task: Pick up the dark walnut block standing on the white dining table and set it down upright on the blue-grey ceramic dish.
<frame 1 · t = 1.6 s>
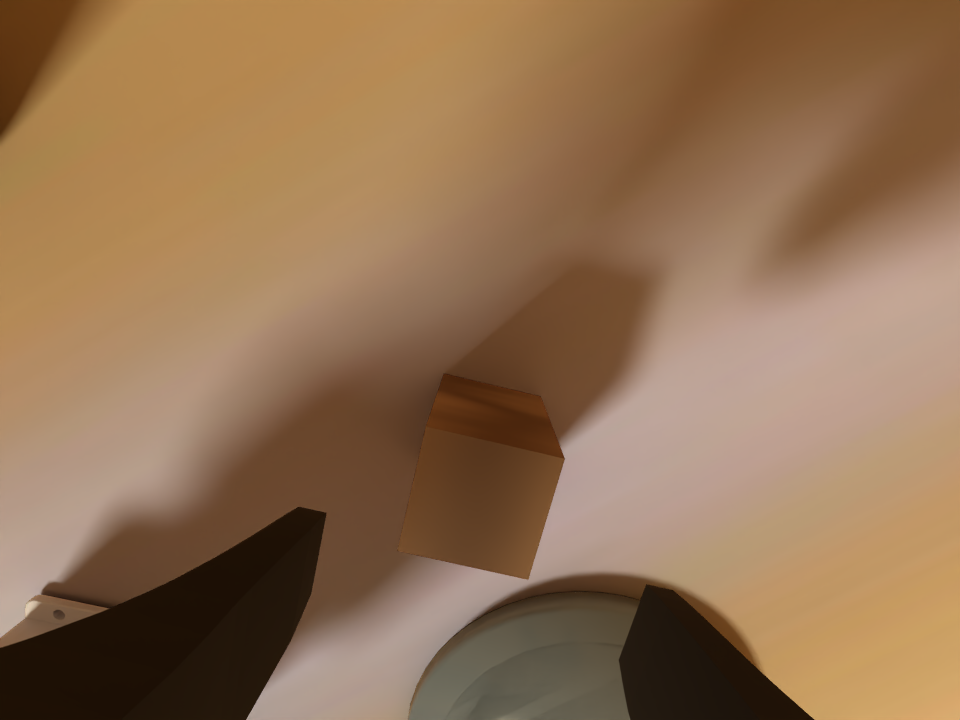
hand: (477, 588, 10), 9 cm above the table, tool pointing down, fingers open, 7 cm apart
walnut block: (480, 430, 20), on the table
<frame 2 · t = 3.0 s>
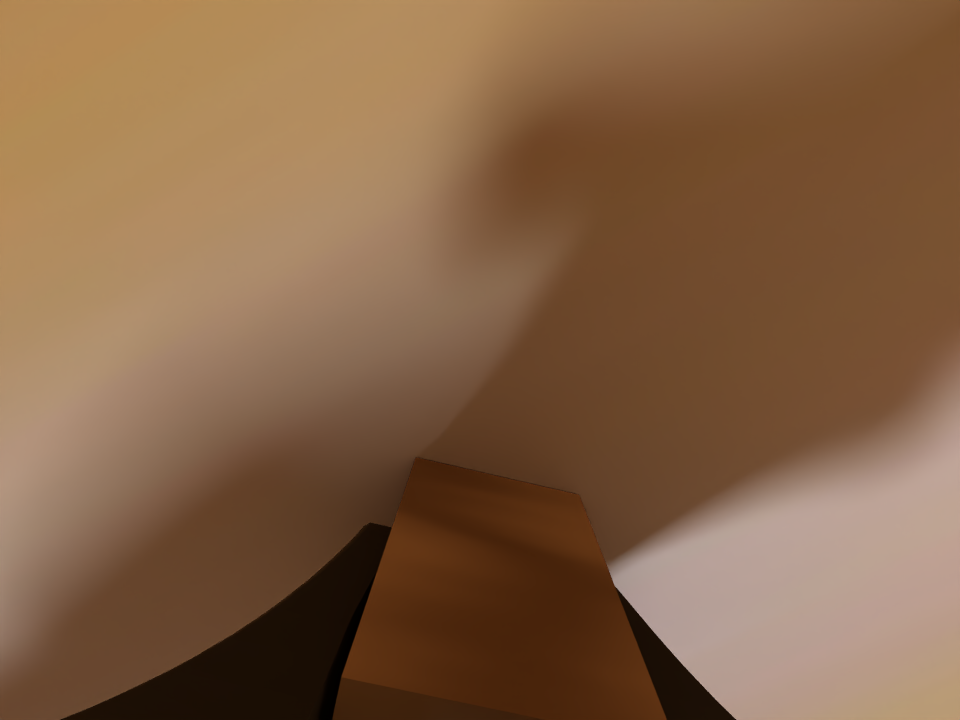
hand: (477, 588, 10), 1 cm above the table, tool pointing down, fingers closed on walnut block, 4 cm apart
walnut block: (478, 548, 12), on the table, touching gripper
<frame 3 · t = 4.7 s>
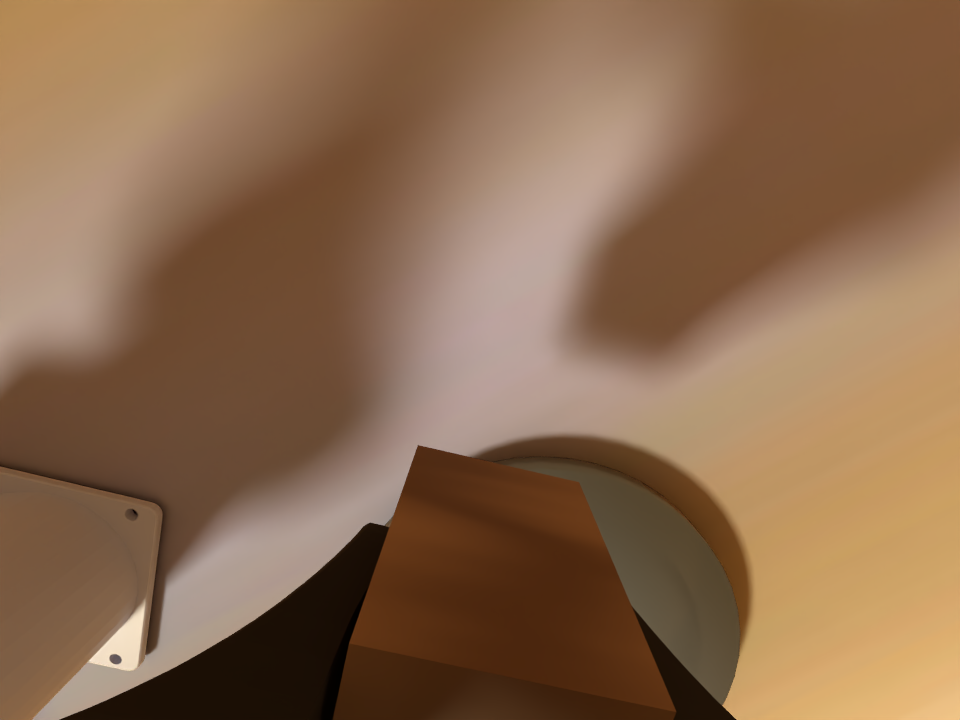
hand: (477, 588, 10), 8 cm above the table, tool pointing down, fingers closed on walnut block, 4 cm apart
walnut block: (479, 536, 12), point 7 cm above the table, touching gripper
dish: (536, 631, 20), on the table
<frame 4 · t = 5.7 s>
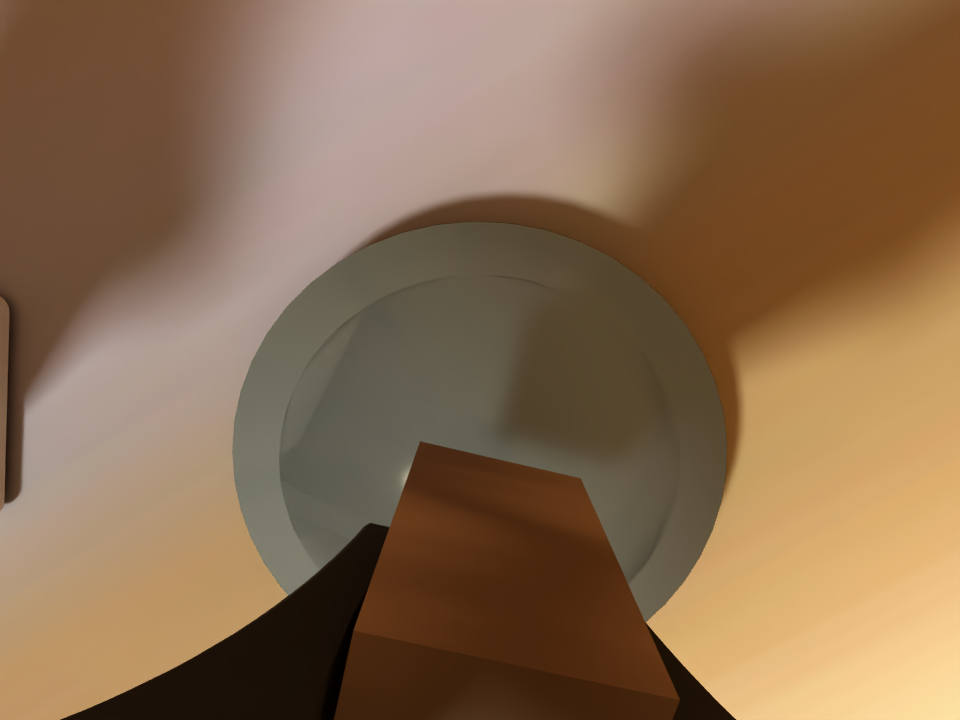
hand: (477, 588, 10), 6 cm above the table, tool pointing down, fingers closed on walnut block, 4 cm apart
walnut block: (481, 532, 12), point 5 cm above the table, touching gripper
dish: (479, 461, 17), on the table
when the fingers open (3 cm above the table, at t = 6.6 s): walnut block stays where it is, resting on dish.
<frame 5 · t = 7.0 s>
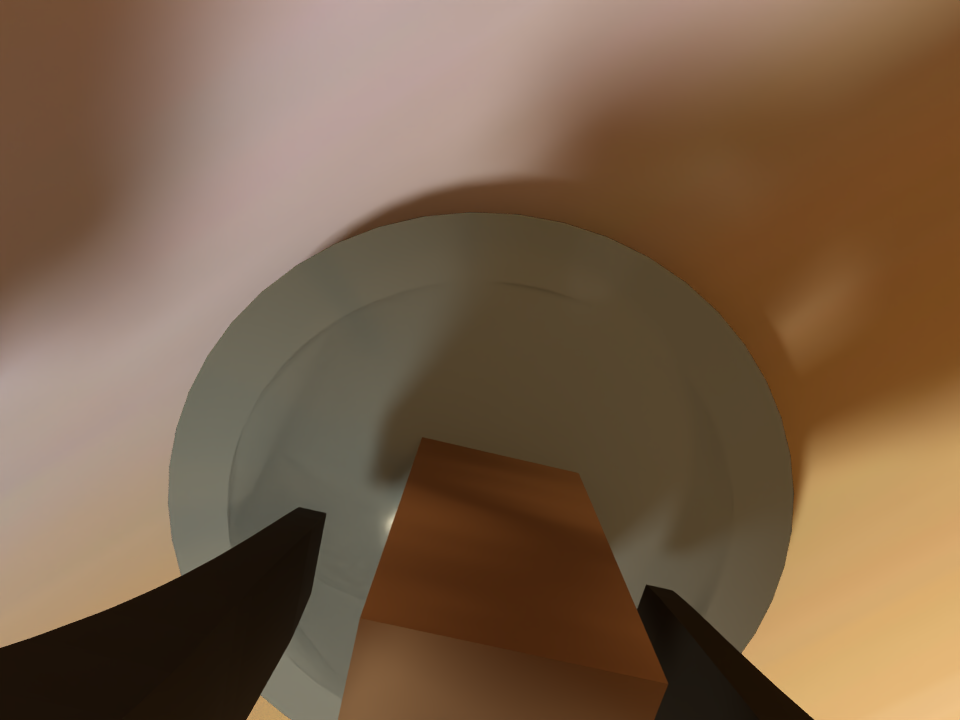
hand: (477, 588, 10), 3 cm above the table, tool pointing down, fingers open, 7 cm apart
walnut block: (481, 525, 12), point 1 cm above the table, touching dish
dish: (479, 510, 14), on the table
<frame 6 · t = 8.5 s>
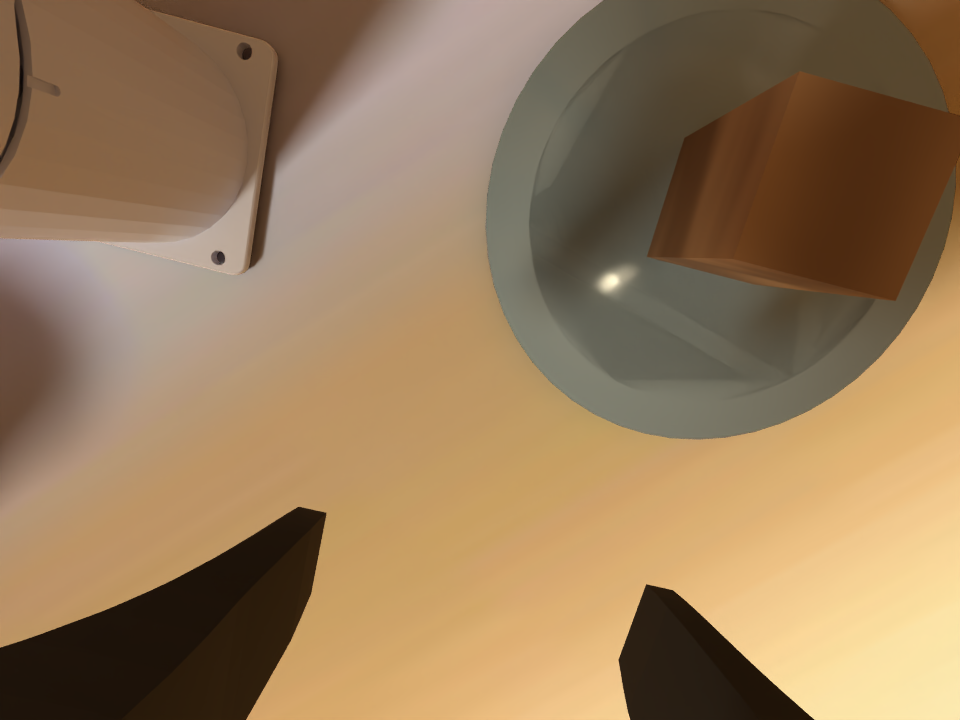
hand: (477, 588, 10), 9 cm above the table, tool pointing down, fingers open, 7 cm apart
walnut block: (720, 213, 16), point 1 cm above the table, touching dish
dish: (701, 224, 18), on the table
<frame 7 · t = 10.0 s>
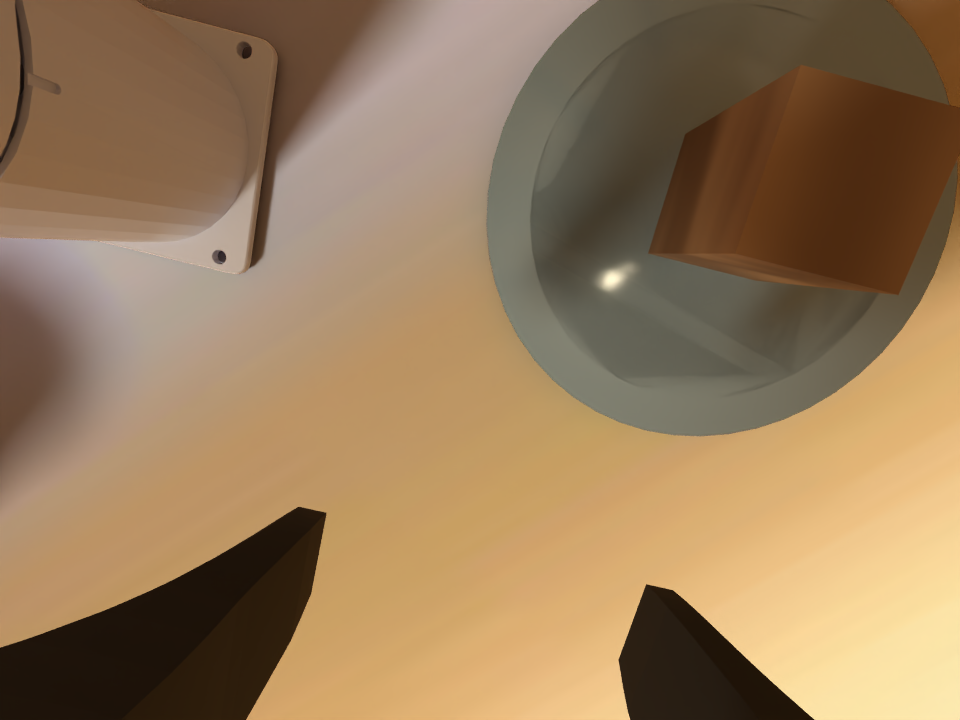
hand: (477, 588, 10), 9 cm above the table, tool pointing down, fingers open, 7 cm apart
walnut block: (721, 209, 16), point 1 cm above the table, touching dish
dish: (702, 220, 18), on the table
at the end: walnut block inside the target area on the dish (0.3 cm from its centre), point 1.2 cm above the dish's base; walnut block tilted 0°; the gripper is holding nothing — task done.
